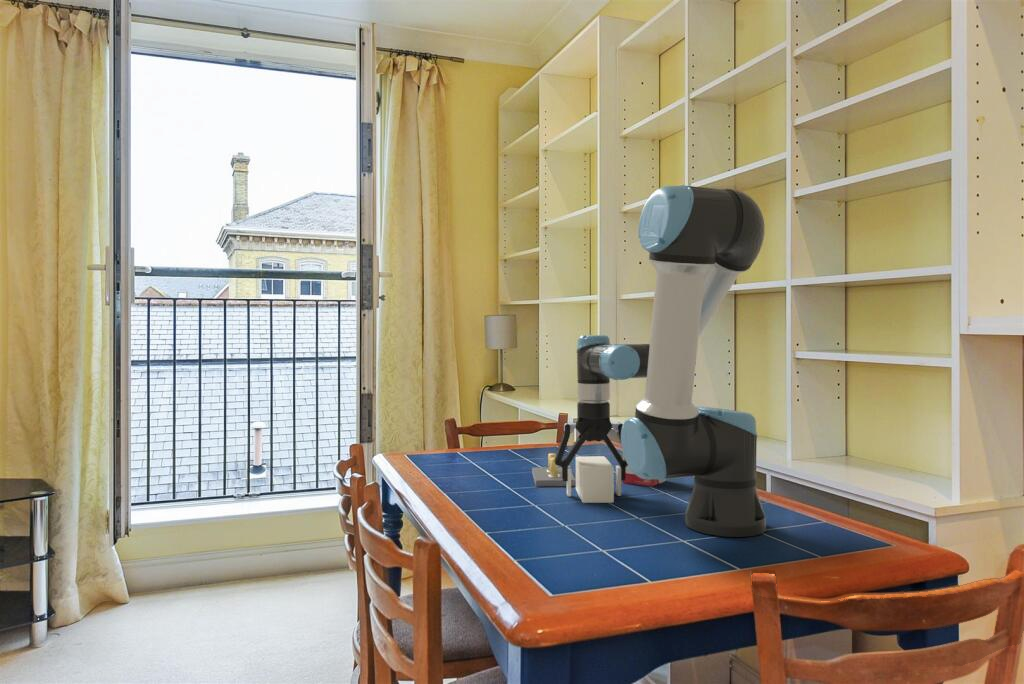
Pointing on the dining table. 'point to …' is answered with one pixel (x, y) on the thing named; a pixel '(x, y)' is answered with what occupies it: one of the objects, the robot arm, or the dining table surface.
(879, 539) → the dining table surface
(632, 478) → the ink box
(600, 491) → the block
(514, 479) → the dining table surface
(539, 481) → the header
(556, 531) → the dining table surface
